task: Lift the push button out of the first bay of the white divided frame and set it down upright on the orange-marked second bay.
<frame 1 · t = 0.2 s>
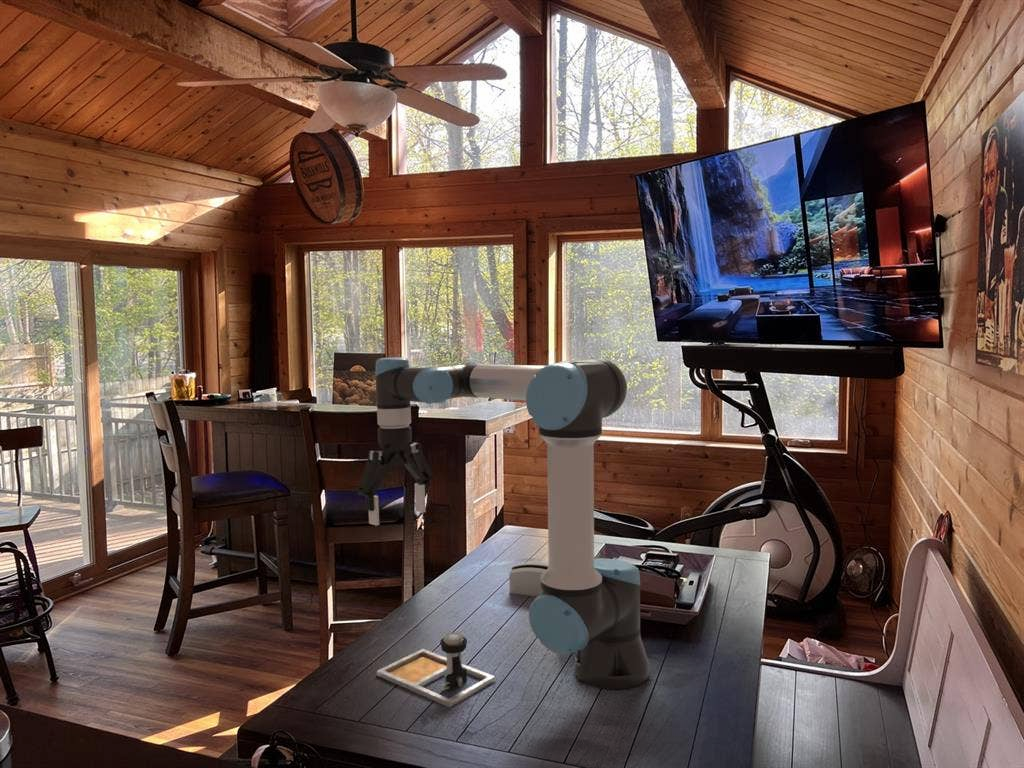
hand: (398, 517, 175), 28 cm above the table, fingers open, 13 cm apart
white divided frame: (435, 678, 156), on the table
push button: (452, 686, 153), on the table
white rounded block: (540, 596, 200), on the table
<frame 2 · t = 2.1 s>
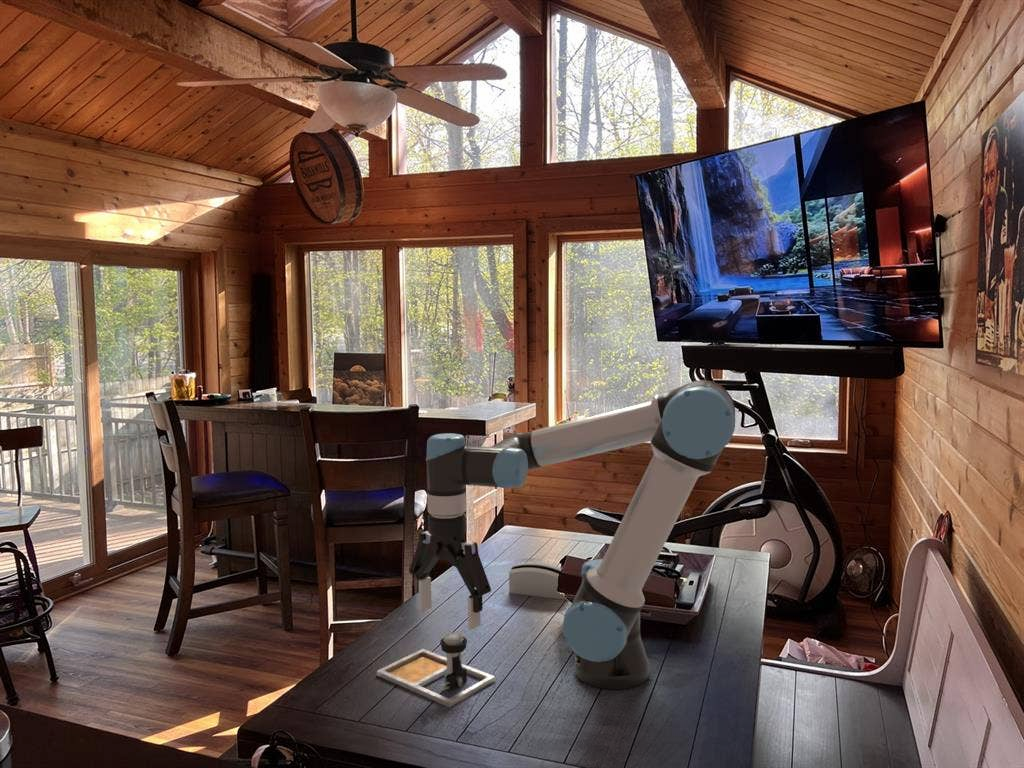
hand: (449, 618, 152), 14 cm above the table, fingers open, 13 cm apart
nothing on the table moved.
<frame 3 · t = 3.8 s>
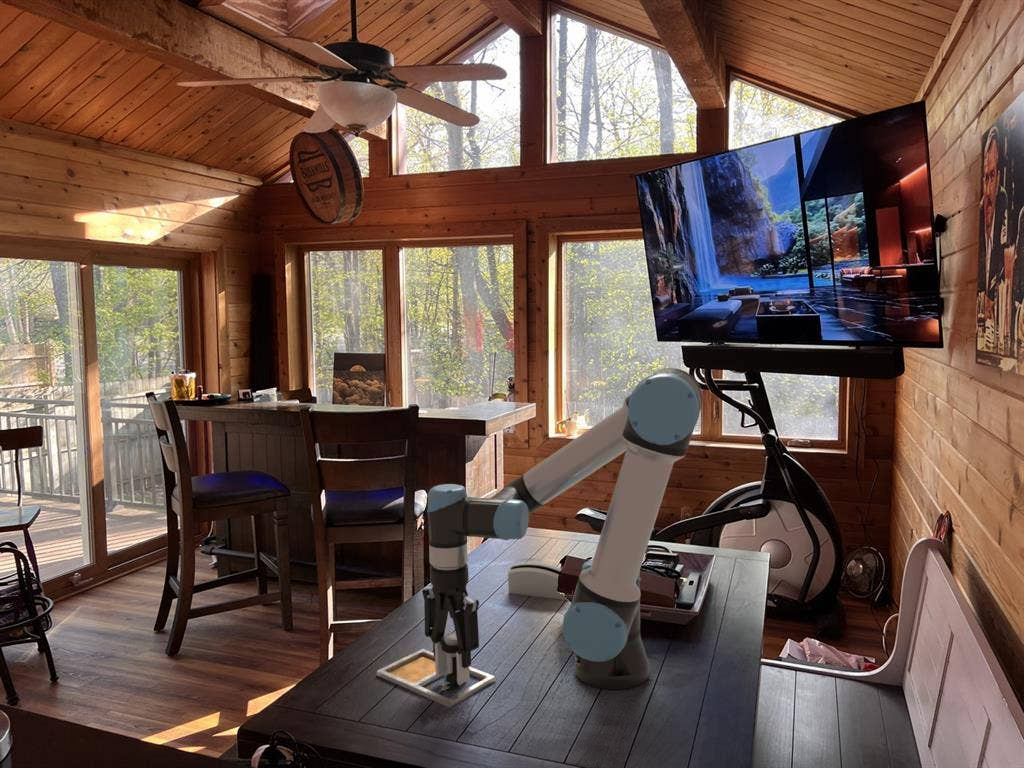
hand: (452, 676, 153), 2 cm above the table, fingers closed on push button, 5 cm apart
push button: (452, 686, 153), on the table, touching gripper
everything else where it was.
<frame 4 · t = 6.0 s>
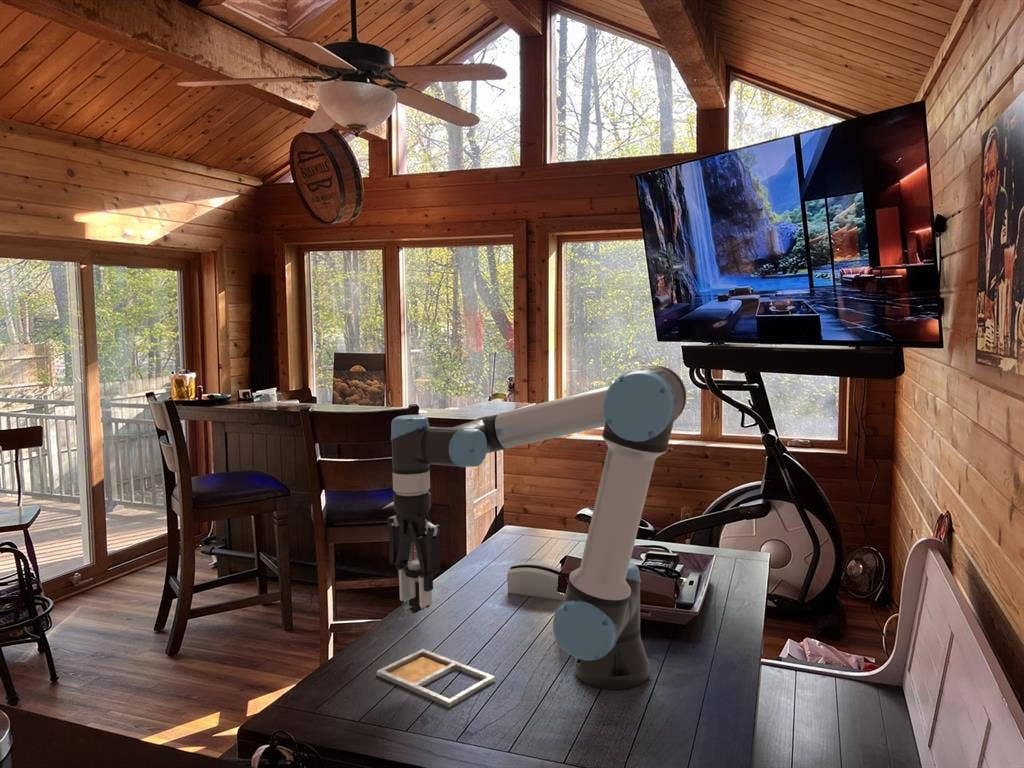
hand: (415, 601, 158), 15 cm above the table, fingers closed on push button, 5 cm apart
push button: (416, 611, 158), point 13 cm above the table, touching gripper
everything else where it was.
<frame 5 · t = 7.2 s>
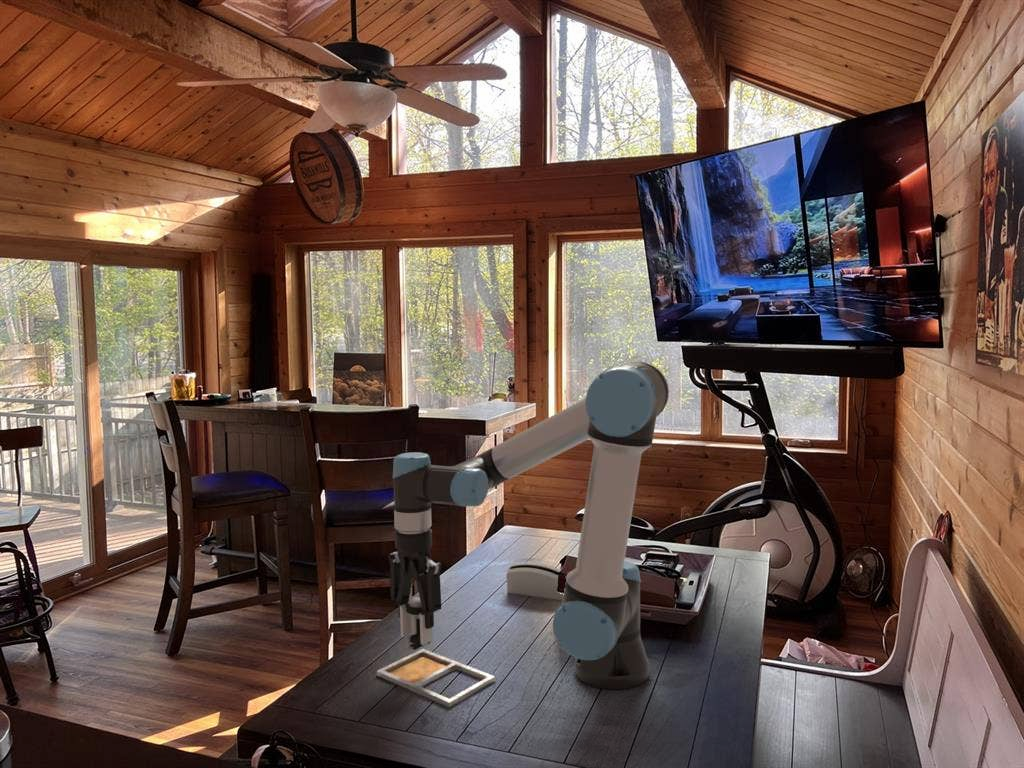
hand: (416, 638, 159), 7 cm above the table, fingers closed on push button, 5 cm apart
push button: (416, 647, 159), point 5 cm above the table, touching gripper
everything else where it was.
when the fingers open (3 cm above the table, at t = 8.3 s): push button drops 1 cm, resting on white divided frame.
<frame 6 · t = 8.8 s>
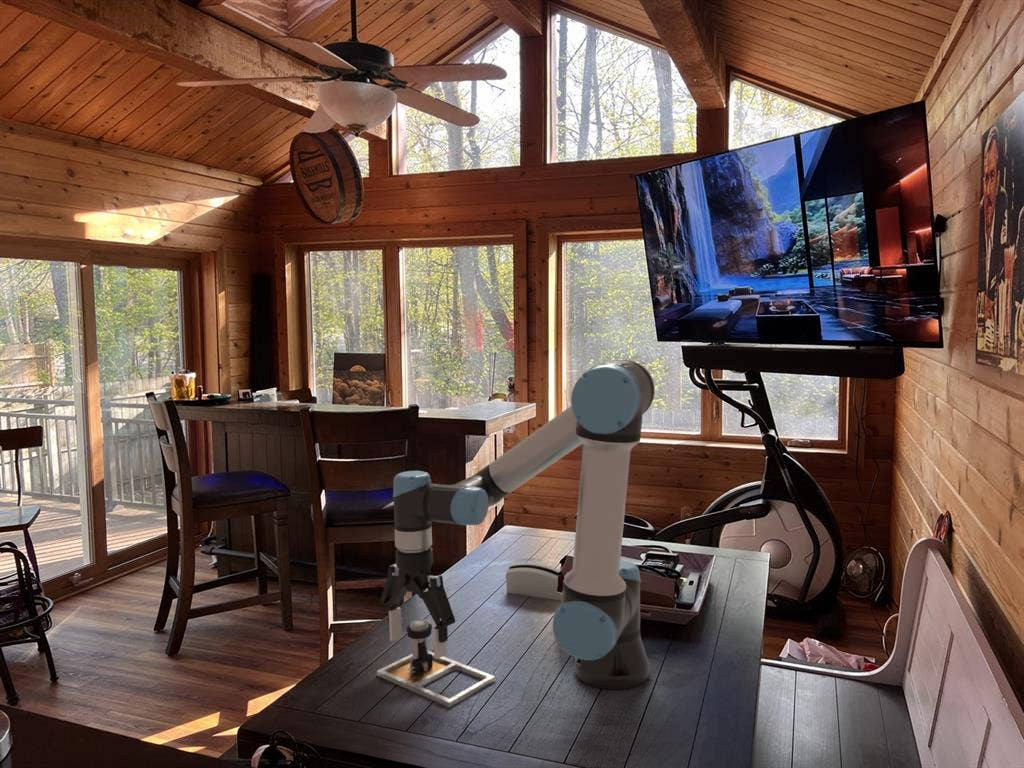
hand: (417, 647, 159), 5 cm above the table, fingers open, 13 cm apart
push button: (418, 671, 159), resting on white divided frame
everything else where it was.
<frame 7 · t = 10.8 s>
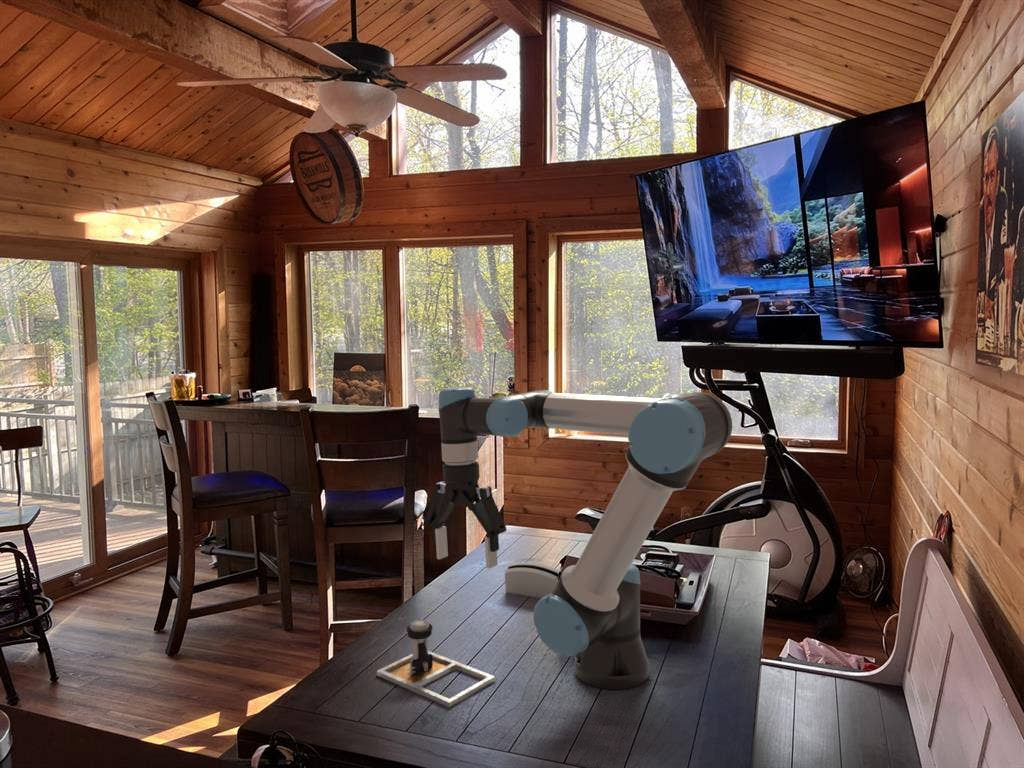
hand: (466, 562, 161), 22 cm above the table, fingers open, 13 cm apart
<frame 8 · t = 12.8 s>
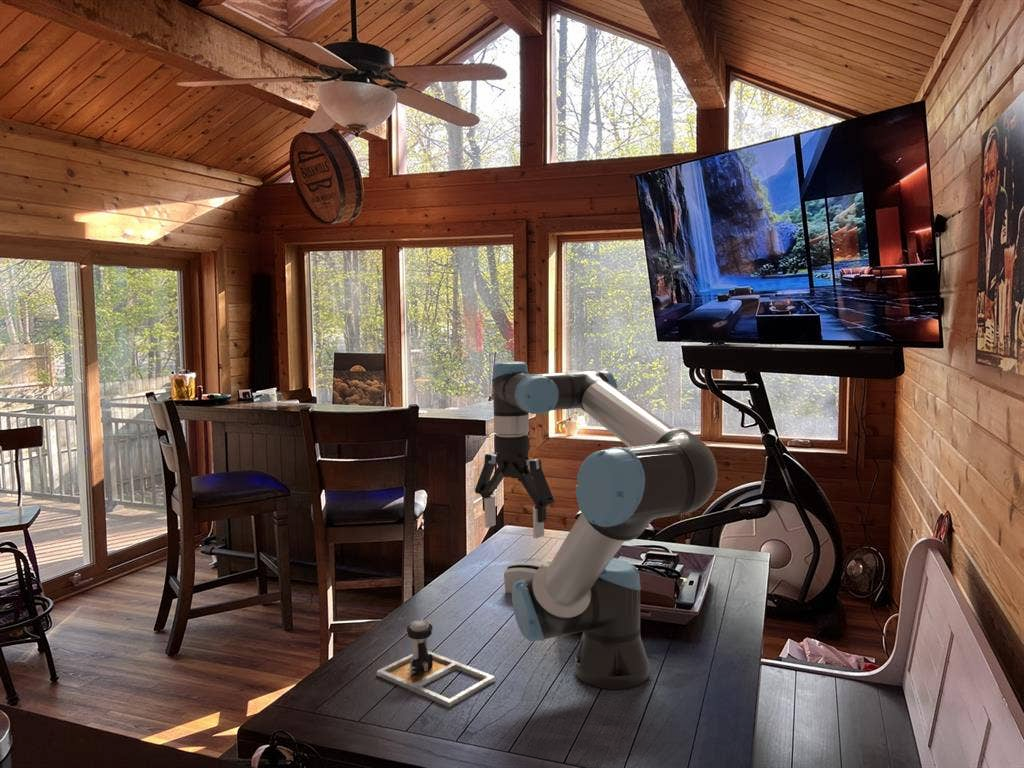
hand: (514, 531, 165), 27 cm above the table, fingers open, 13 cm apart
at the end: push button inside the target area on the white divided frame (0.1 cm from its centre), point 0.0 cm above the white divided frame's base; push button tilted 0°; the gripper is holding nothing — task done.
